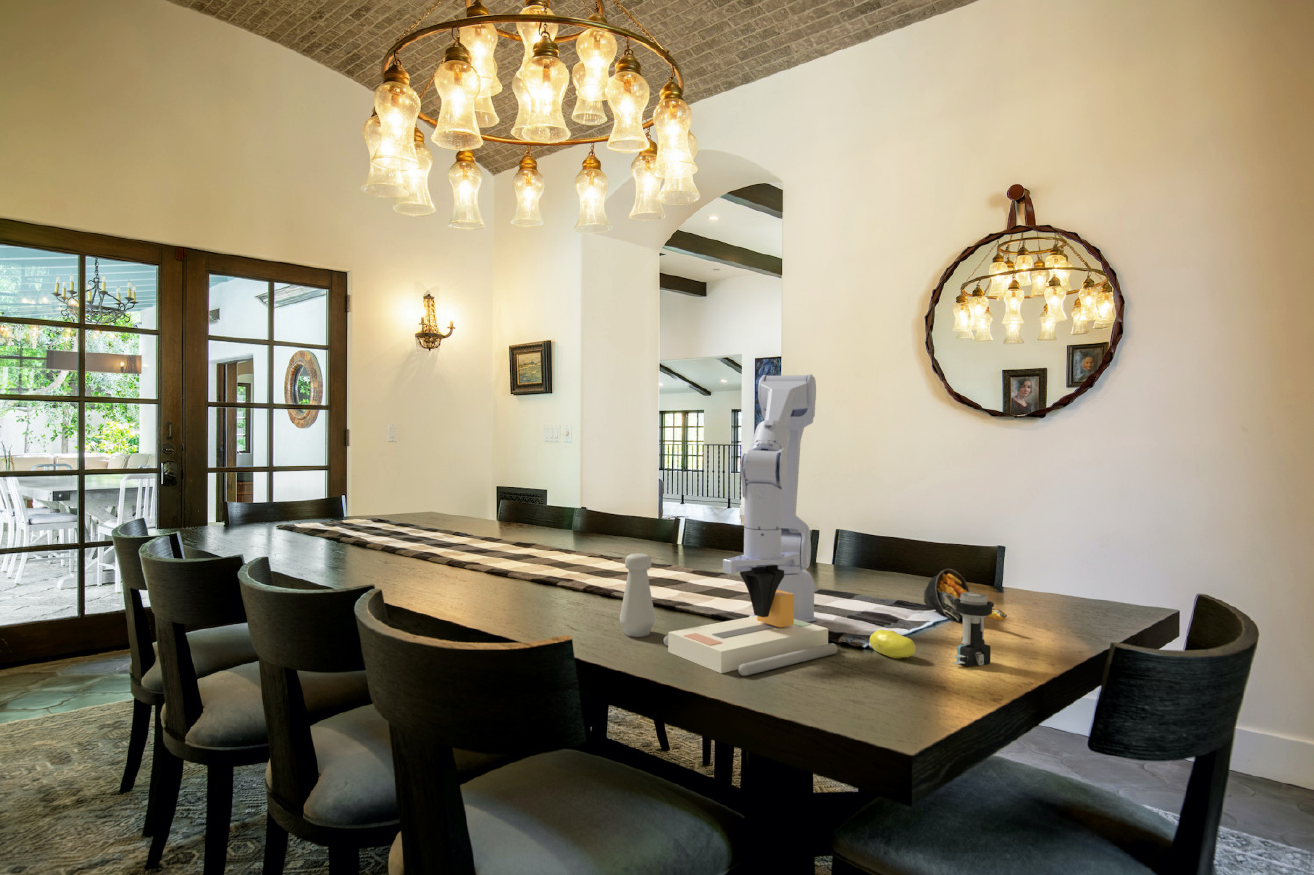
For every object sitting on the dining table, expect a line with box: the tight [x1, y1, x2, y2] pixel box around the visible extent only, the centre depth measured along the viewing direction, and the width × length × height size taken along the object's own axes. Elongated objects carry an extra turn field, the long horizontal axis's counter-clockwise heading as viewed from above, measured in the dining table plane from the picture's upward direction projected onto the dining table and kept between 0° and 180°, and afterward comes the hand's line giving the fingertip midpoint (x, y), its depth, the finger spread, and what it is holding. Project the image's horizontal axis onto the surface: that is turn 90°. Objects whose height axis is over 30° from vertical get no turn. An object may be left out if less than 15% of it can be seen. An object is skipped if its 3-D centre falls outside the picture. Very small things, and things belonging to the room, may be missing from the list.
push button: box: [952, 591, 995, 668], centre depth 108 cm, size 7×5×10 cm
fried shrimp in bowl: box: [923, 568, 1008, 622], centre depth 134 cm, size 9×11×18 cm
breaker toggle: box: [757, 590, 794, 627], centre depth 116 cm, size 3×5×5 cm, turn 36°
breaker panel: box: [667, 616, 829, 674], centre depth 113 cm, size 22×12×3 cm, turn 126°
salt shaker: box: [619, 552, 656, 638], centre depth 122 cm, size 6×6×13 cm
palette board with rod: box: [663, 635, 838, 677], centre depth 113 cm, size 20×19×2 cm
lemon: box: [869, 629, 916, 660], centre depth 111 cm, size 4×8×4 cm, turn 28°
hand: (761, 615), depth 115 cm, fingers closed
